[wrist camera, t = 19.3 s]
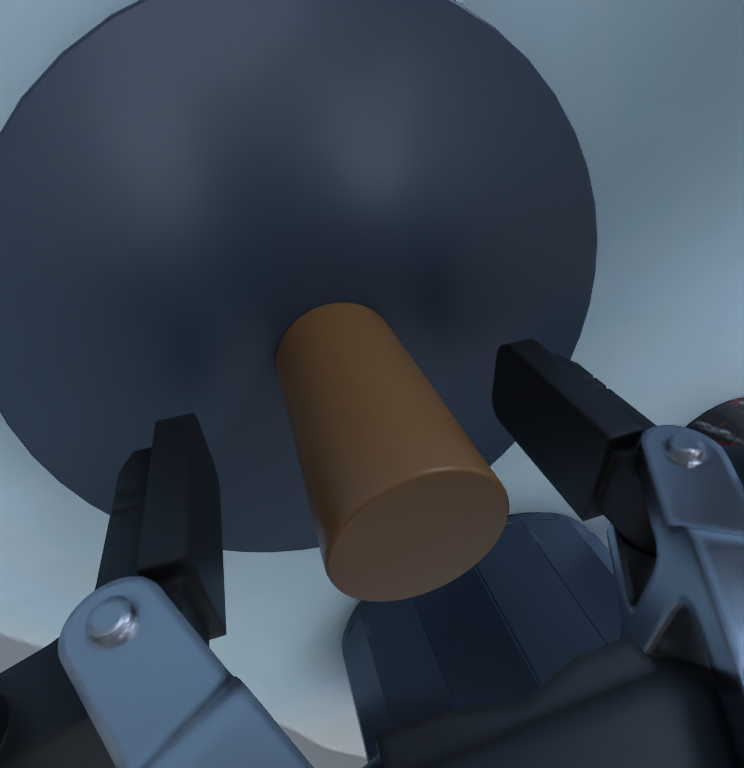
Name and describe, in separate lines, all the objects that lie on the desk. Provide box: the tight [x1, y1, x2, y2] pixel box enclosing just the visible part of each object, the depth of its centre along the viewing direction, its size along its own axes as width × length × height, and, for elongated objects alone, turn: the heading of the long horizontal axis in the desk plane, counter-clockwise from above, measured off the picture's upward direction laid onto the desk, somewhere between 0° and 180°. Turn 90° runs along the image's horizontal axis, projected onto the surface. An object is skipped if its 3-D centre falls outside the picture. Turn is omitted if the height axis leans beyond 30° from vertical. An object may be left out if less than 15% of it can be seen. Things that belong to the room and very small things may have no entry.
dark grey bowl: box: [342, 513, 621, 762], centre depth 22 cm, size 15×15×8 cm
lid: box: [0, 0, 597, 602], centre depth 10 cm, size 16×16×7 cm
